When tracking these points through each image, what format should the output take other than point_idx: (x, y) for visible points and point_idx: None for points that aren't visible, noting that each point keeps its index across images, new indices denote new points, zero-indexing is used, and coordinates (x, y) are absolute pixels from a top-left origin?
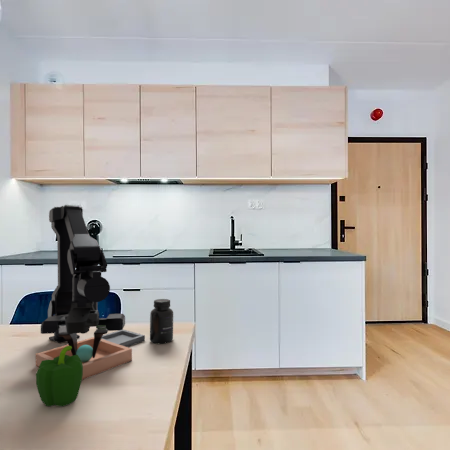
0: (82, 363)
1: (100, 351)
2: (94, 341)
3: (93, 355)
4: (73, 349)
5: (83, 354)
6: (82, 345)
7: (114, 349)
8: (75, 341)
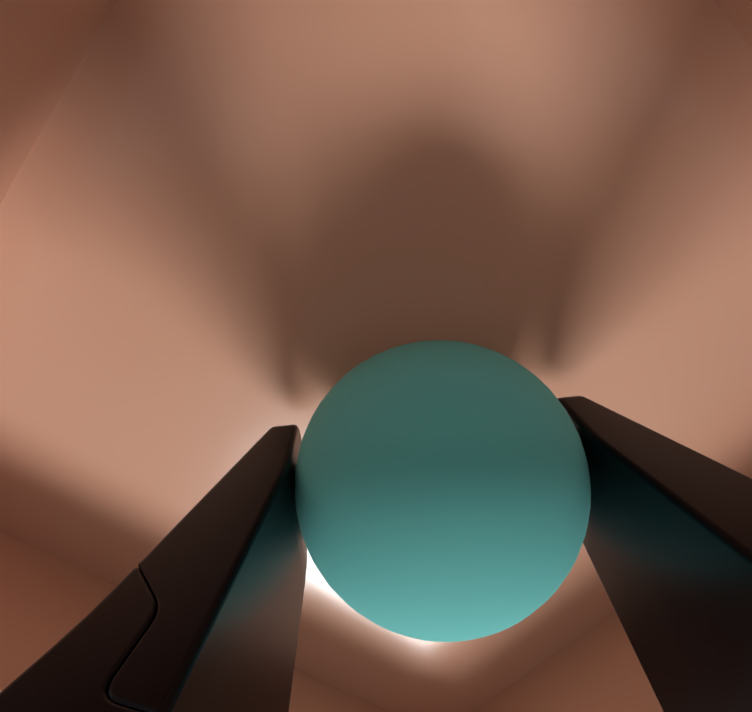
0: (430, 336)
1: (321, 661)
2: (173, 644)
3: (276, 440)
4: (668, 475)
5: (425, 375)
6: (516, 598)
7: (54, 642)
8: (713, 680)
